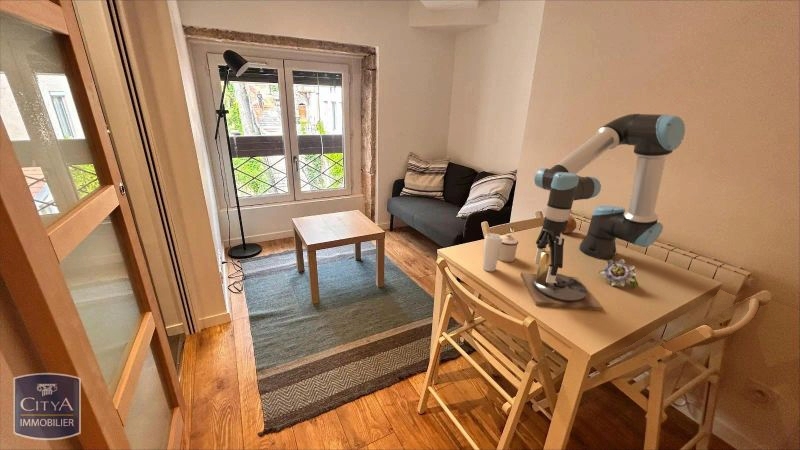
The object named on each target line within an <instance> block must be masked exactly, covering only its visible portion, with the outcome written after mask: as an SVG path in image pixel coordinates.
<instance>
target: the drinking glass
mask: <svg viewBox="0 0 800 450" xmlns="http://www.w3.org/2000/svg"><path fill="white" fill-rule="evenodd" d="M502 236H503V235H500V234H498V233H493V232H492V233H491V232H489V233H486V234H485V237H484V241H483V242H484V245H483V260H482V261H483V262H482V268H483V270H484V271H486V272H495V270H496V268H497V263H498V261H499V260H498V257H499V253H500V249H501V245H502Z"/></svg>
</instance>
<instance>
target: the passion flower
mask: <svg viewBox="0 0 800 450" xmlns="http://www.w3.org/2000/svg"><path fill="white" fill-rule="evenodd" d="M606 262H607V263H606V264H604V266H605V268H604V269H603V270H600V271H598V274H600V275H605V276H606V278H605V282H607V283H608V282H609V283H610V286H611V287H614V286H615V285H616V284H617V283H618V284H619V285H620V287H624V286H625V285H626V283H627V282H628V281H629V282H630V284H631V287H632V289H635V288H636V287H637V286H638V285H639V283H638V280H637V278H636V277H635V276H637V274H636V271H635V265H626V264H625V263H626V262H625V259H624V258H621V259H619V260H616V261H613V260H612V259H610V260H609V259H606Z"/></svg>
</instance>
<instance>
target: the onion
mask: <svg viewBox="0 0 800 450" xmlns="http://www.w3.org/2000/svg"><path fill="white" fill-rule="evenodd" d="M567 221H568V224H567V229H566V231H564V232H562V233H563V234H570V233H572V232H575V230H576V229H577V221H576V219H575V218H574V217H573V216H571V215H570V216H569V219H568V220H567Z"/></svg>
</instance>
